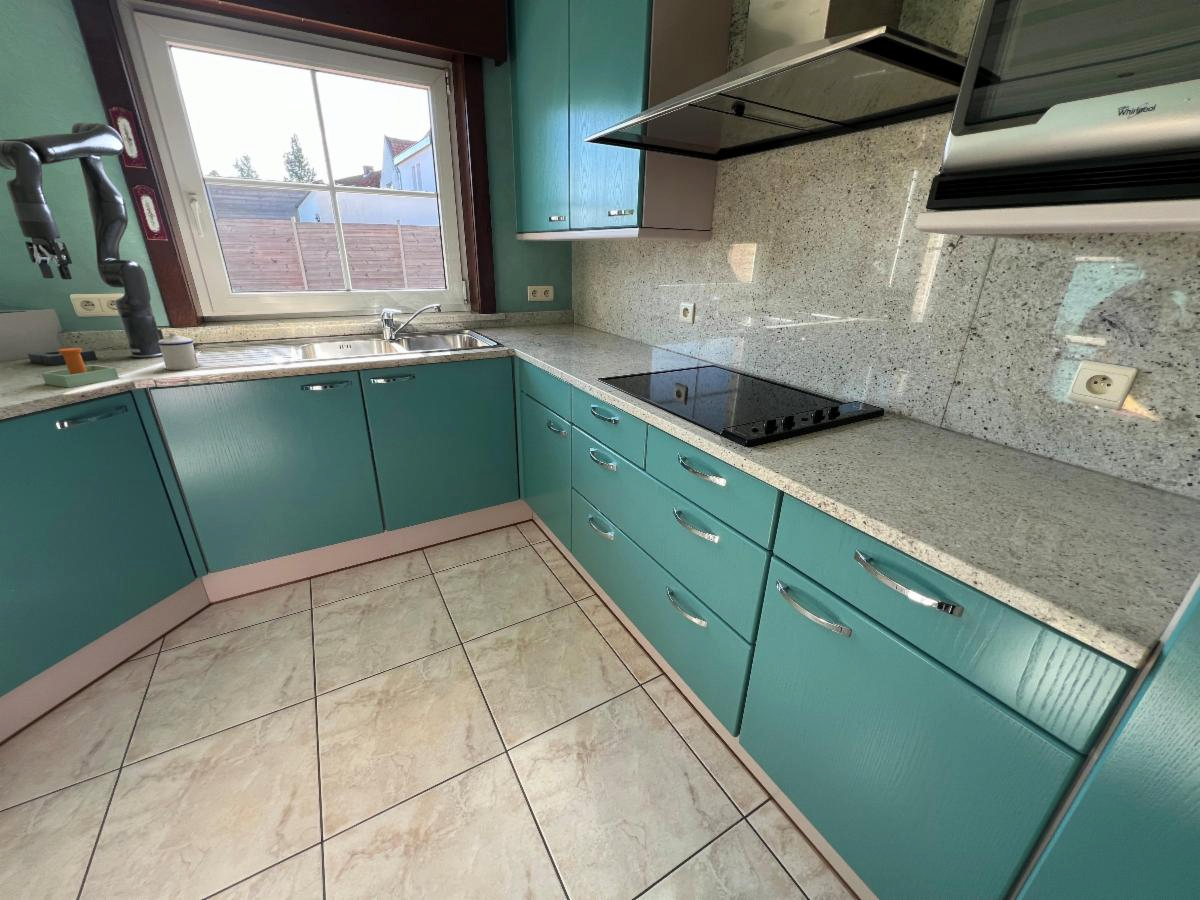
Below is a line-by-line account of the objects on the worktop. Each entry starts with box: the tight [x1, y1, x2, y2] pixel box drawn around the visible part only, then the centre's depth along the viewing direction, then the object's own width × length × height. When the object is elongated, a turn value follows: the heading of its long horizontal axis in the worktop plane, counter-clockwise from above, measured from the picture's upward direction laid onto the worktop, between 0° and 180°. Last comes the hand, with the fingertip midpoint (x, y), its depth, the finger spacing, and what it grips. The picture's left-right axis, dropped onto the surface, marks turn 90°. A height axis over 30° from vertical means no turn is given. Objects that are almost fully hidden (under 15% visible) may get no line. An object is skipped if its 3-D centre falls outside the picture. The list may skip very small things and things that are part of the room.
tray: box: [41, 364, 119, 388], centre depth 146 cm, size 12×10×3 cm
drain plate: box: [27, 348, 98, 366], centre depth 170 cm, size 12×12×3 cm
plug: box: [57, 347, 87, 375], centre depth 144 cm, size 5×5×9 cm
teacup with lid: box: [158, 331, 200, 371], centre depth 164 cm, size 12×9×12 cm
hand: (57, 278), depth 149 cm, fingers open, 8 cm apart
